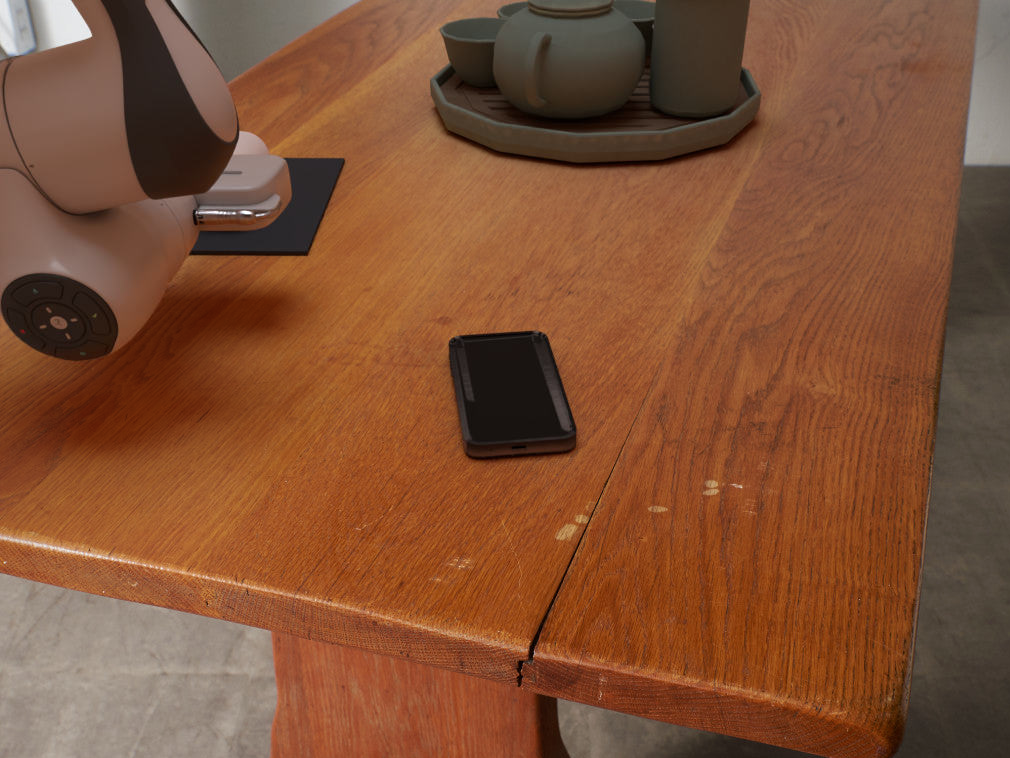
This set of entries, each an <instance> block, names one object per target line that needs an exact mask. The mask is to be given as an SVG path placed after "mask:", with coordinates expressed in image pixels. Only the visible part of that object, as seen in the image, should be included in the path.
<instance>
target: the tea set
mask: <svg viewBox="0 0 1010 758" xmlns="http://www.w3.org/2000/svg"><path fill="white" fill-rule="evenodd" d="M750 6H751V0H655V1H649V0H525V1H516V2H512V3H508V4H504V5H502V6H501V7H500V8H498V9H497V10H496V15H497V17H489V16H487V17H484V16H480V17H468V18H461V19H457V20H454V21H449V22H446V23H445V24H444V25H442V26H441V27H439V29H438V31H439V33H440V35H441V37H442V39H443V43H444V47H445V50H446V54H447V58H448V63H447V64H446V65H445V66H444V67H442V68H441V69H440V70H439V71H438V72H436V73H435V75H433V76H432V77H431V78H430V79H429V88H430V90H429V92H430V96H431V99H432V101H433V104H434V105H435V107H436V109H437V111H438V113H439V116H440V117H441V120H442V122H443V124H444V126H445V128H446V130H448V131H450V132H453V133H454V134H456V135H459V136H462V137H464V138H466V139H469V140H471V141H474V142H476V143H477V144H480V145H483V146H485V147H487V148H489V149H492V150H495V151H497V152H501V153H508V154H513V155H514V154H515V155H521V156H528V157H535V158H541V159H547V160H556V161H563V162H567V163H568V162H569V163H574V164H575V163H577V164H587V163H611V162H612V163H614V162H642V161H643V162H644V161H661V160H666V159H669V158H673V157H677V156H681V155H684V154H685V155H686V154H689V153H693V152H696V151H701V150H704V149H709V148H713V147H717V146H720V145H721V146H722V145H725V144H727V143H728V142H729V141H730V140H732V139H733V138H734V137H735V136H736V135H737V134H739V133H740V132H741V131H743V129H744V128H746V127H747V126H748V125H749V124H750V123H751V122H752V121H754V119H755V118H756V117H757V114H758V113H759V111H760V107H761V100H762V92H761V90H760V89H759V86H758V85H757V83H756V81H755V79H754V76H753V75H752V73H751V71H750V70H749V69H748V68H746V67H743V58H744V51H745V44H746V43H745V42H746V36H747V28H748V21H749V12H750Z"/></svg>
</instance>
